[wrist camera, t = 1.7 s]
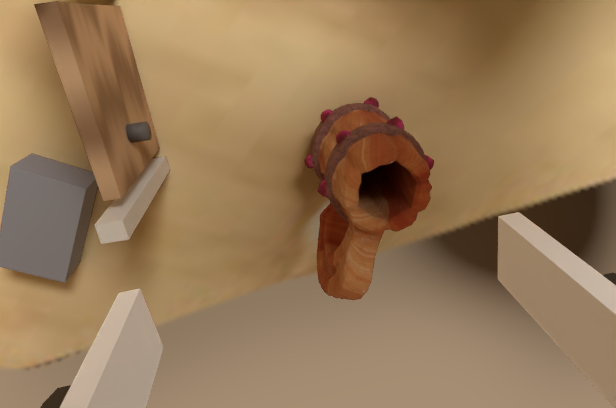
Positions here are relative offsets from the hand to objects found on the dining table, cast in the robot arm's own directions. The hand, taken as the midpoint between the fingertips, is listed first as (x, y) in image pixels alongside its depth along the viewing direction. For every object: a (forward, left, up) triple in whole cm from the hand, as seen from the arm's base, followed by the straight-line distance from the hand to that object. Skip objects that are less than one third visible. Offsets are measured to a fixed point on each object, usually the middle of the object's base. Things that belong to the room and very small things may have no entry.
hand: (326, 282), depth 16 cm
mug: (+5, +5, -27) cm, 28 cm away
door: (-5, -12, -27) cm, 30 cm away
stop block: (+5, -23, -27) cm, 36 cm away
